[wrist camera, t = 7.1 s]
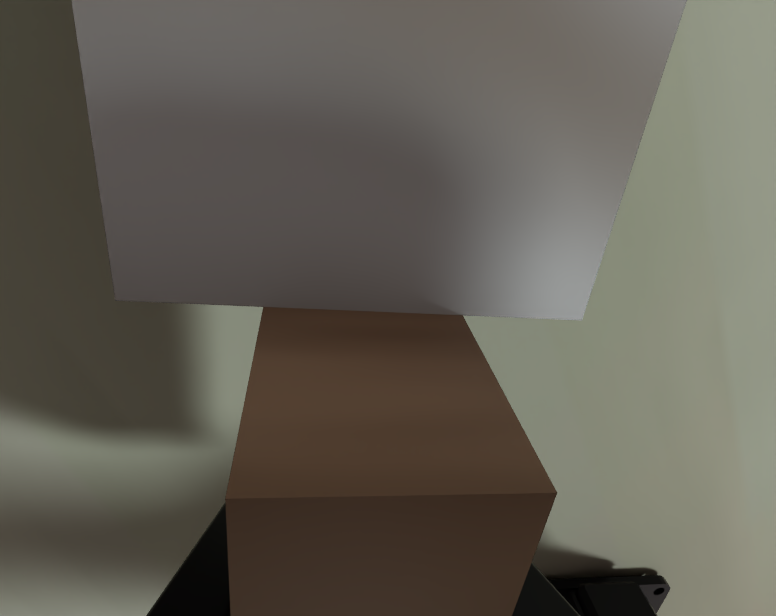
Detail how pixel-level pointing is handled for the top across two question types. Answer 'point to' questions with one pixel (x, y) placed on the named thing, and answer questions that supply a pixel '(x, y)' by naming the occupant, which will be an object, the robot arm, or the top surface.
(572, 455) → the top surface
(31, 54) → the top surface
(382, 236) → the turner
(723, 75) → the top surface
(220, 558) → the robot arm
